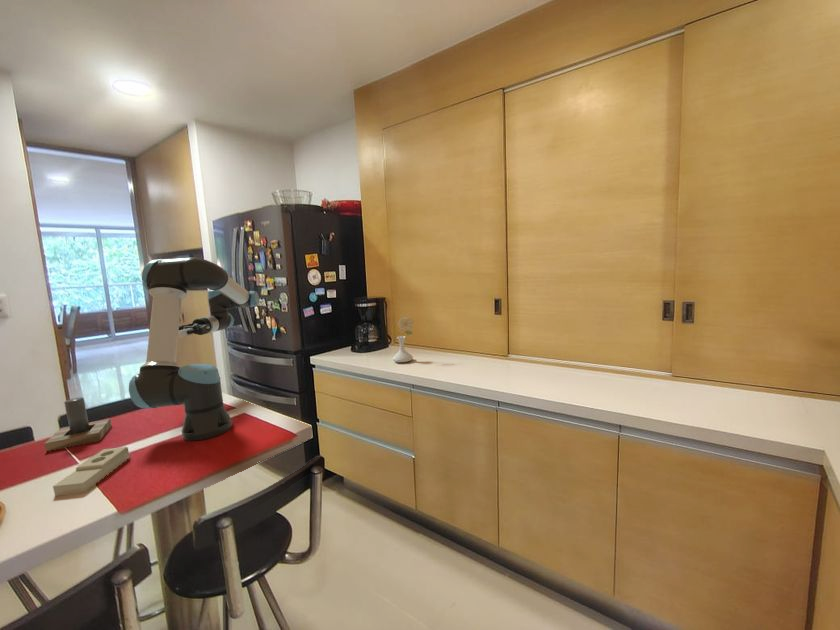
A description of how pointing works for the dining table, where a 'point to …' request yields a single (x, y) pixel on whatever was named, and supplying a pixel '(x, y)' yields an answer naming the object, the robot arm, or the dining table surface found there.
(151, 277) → the robot arm
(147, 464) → the dining table surface
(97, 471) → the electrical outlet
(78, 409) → the plug
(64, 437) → the socket plate
